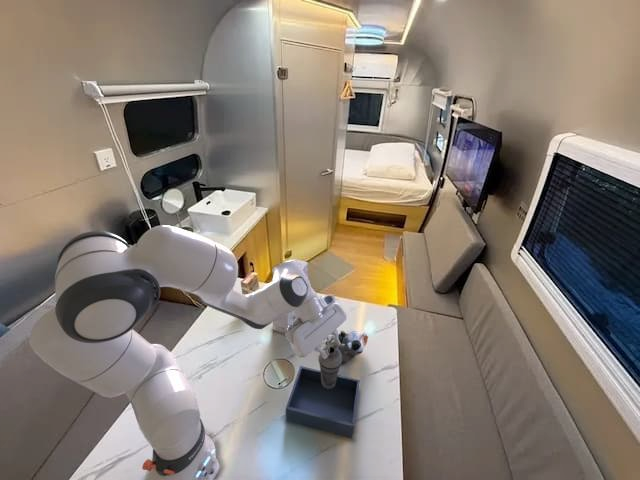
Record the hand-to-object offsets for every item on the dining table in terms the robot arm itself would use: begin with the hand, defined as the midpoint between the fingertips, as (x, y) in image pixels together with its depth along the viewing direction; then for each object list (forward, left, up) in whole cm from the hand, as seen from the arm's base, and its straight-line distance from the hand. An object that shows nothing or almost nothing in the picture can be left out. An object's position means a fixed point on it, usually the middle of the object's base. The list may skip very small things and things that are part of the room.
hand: (332, 351), depth 80 cm
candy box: (+40, +47, -28) cm, 68 cm away
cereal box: (+36, +25, -28) cm, 52 cm away
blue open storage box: (-1, +1, -27) cm, 27 cm away
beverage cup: (0, +1, -16) cm, 16 cm away
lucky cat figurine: (+23, -3, -28) cm, 36 cm away
